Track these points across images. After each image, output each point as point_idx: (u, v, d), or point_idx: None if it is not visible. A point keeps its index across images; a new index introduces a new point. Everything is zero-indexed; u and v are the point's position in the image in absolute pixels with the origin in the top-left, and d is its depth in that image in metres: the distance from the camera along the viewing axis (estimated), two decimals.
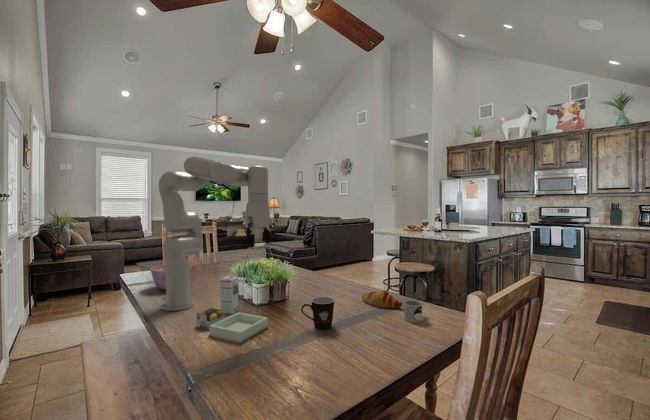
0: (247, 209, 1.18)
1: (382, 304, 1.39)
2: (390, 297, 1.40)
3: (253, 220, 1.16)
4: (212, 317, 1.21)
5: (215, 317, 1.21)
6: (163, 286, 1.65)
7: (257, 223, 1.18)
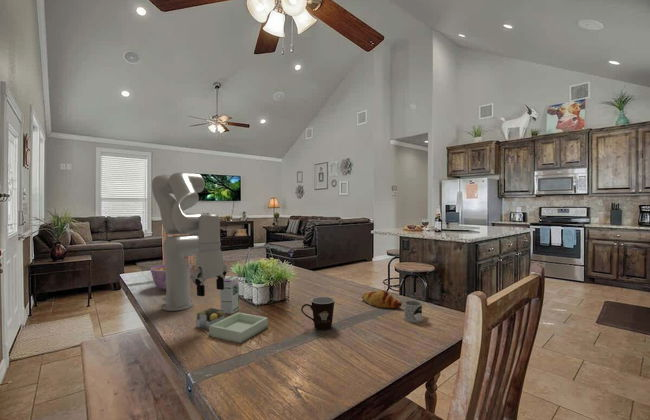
0: (197, 259, 1.16)
1: (382, 304, 1.39)
2: (390, 297, 1.40)
3: (203, 271, 1.14)
4: (212, 316, 1.21)
5: (215, 317, 1.21)
6: (163, 286, 1.65)
7: (207, 273, 1.16)
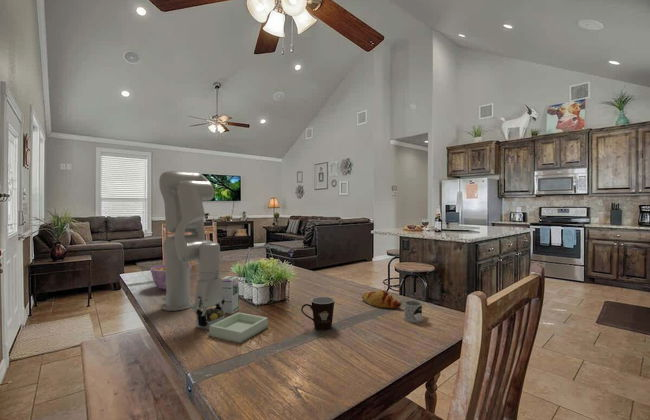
0: (197, 288, 1.16)
1: (381, 304, 1.39)
2: (389, 297, 1.40)
3: (203, 301, 1.15)
4: (213, 317, 1.21)
5: (216, 317, 1.21)
6: (163, 286, 1.65)
7: (207, 303, 1.16)
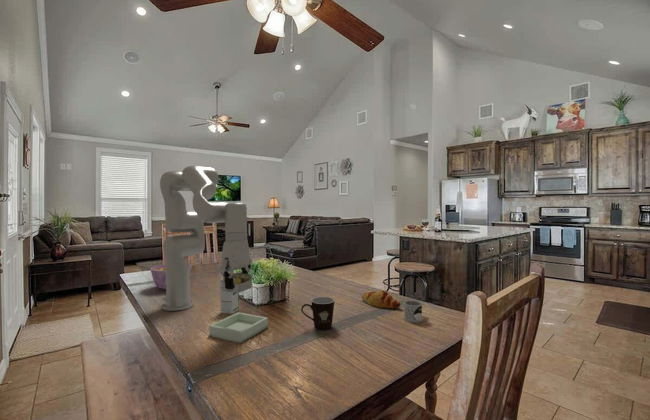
0: (224, 249, 1.10)
1: (381, 304, 1.39)
2: (389, 297, 1.39)
3: (230, 262, 1.09)
4: (236, 280, 1.15)
5: (238, 278, 1.16)
6: (163, 286, 1.65)
7: (234, 264, 1.10)
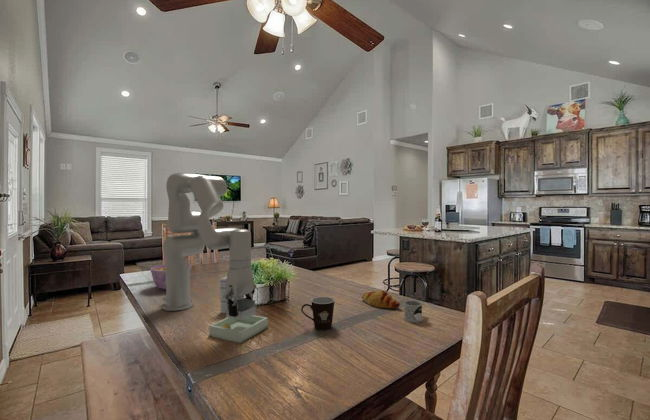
0: (228, 277, 1.11)
1: (380, 304, 1.39)
2: (388, 297, 1.39)
3: (234, 290, 1.10)
4: (225, 327, 1.10)
5: (227, 325, 1.11)
6: (163, 286, 1.65)
7: (238, 292, 1.11)
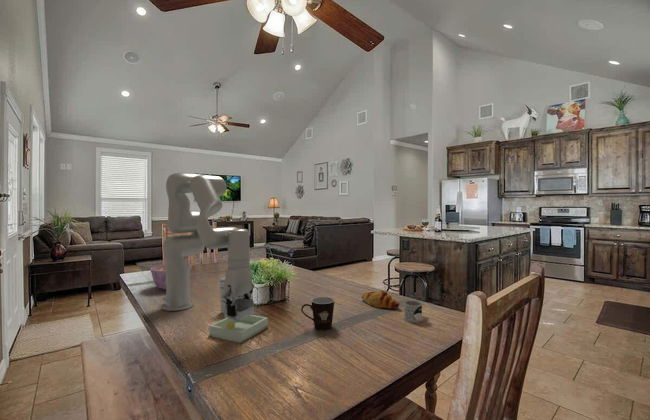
0: (226, 276, 1.10)
1: (379, 304, 1.39)
2: (388, 297, 1.39)
3: (233, 289, 1.09)
4: (232, 322, 1.14)
5: None
6: (163, 286, 1.65)
7: (237, 292, 1.10)
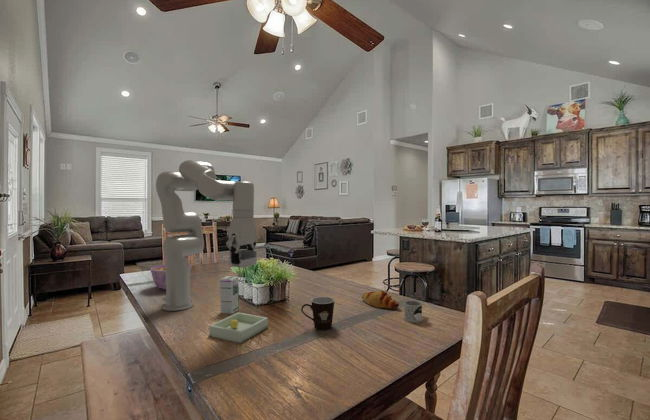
0: (231, 226, 1.15)
1: (379, 304, 1.39)
2: (387, 297, 1.39)
3: (237, 238, 1.14)
4: None
5: None
6: (163, 286, 1.65)
7: (241, 240, 1.15)
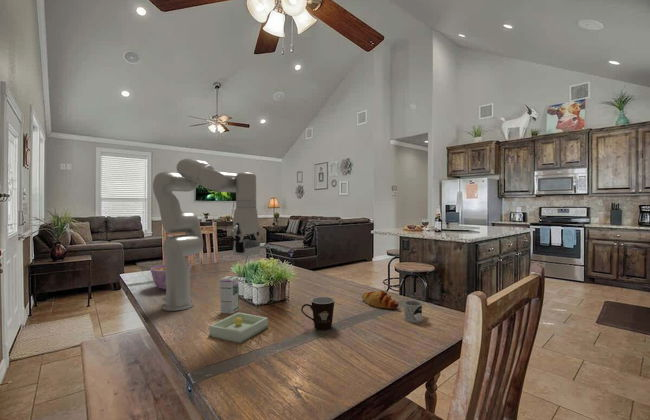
0: (235, 215, 1.18)
1: (379, 304, 1.39)
2: (387, 297, 1.39)
3: (241, 227, 1.17)
4: (238, 325, 1.17)
5: (238, 323, 1.17)
6: (163, 286, 1.65)
7: (245, 229, 1.18)
